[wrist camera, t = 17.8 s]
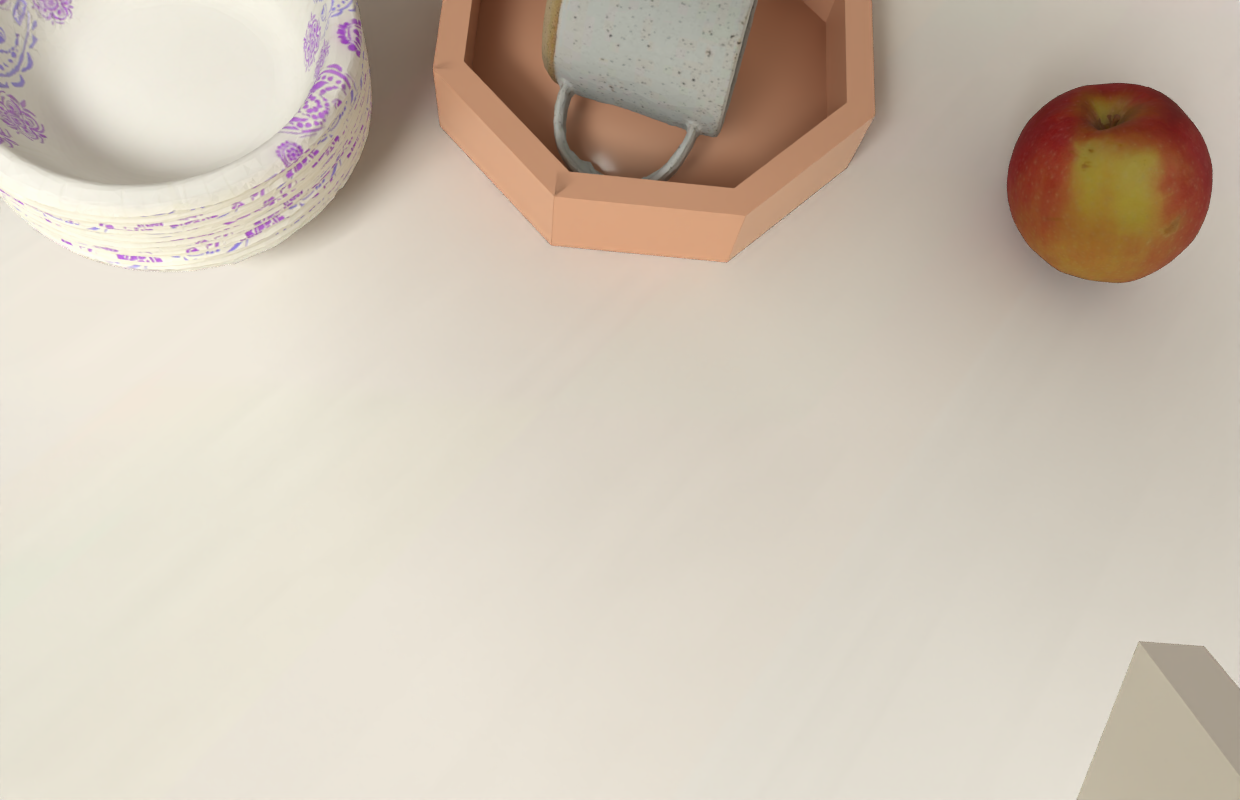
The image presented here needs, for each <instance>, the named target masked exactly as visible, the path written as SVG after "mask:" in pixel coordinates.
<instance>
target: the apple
mask: <svg viewBox="0 0 1240 800" xmlns="http://www.w3.org/2000/svg"><path fill="white" fill-rule="evenodd" d="M1211 192H1212V164H1211V159H1210V156H1209V152H1208V149H1207V146H1206V144H1205V141H1204V139H1203V137H1202V136H1201V134H1200V132H1199V131H1198V129H1197V128H1196V126H1195V125H1194V123H1193V122H1192V121H1191V120H1190V119H1189V117H1188V116H1187V115H1186V114H1185V113H1184V111H1183V110H1182V109H1181V108H1180V107H1179V106H1178V105H1177V104H1176V103H1175V102H1174V101H1172V100H1171V99H1170V98H1168V97H1167V96H1166V95H1164V94H1163V93H1161V92H1159V91H1157V90H1154V89H1152V88H1150V87H1145V86H1141V85H1136V84H1127V83H1110V84H1099V85H1087V86H1081V87H1078V88H1075V89H1073V90H1070V91H1068V92H1066V93H1063V94H1061V95H1059V96H1058V97H1056V98H1054V99H1053V100H1051V101H1050V102H1048V103H1047V104H1046V105H1045V106H1043V107H1042V108H1041V109H1040V110H1039V111H1038V112H1037V113H1036V114H1035V115H1034V116H1033V117H1032V118H1031V119H1030V120H1029V121H1028V123H1027V124H1026V126H1025V127H1024V129H1023V130H1022V132H1021V134H1020V136H1019V138H1018V140H1017V142H1016V145H1015V147H1014V150H1013V153H1012V157H1011V160H1010V164H1009V169H1008V177H1007V194H1008V202H1009V206H1010V211H1011V214H1012V217H1013V220H1014V222H1015V224H1016V226H1017V228H1018V230H1019V232H1020V233H1021V235H1022V236H1023V238H1024V239H1025V241H1026V242H1027V244H1028V245H1029V246H1030V247H1031V248H1032V249H1033V250H1034V251H1035V252H1036V253H1037V254H1038V255H1039V256H1040V257H1041V258H1043V259H1044V260H1045V261H1046V262H1047V263H1049V264H1050V265H1051V266H1053V267H1054V268H1056V269H1057V270H1059V271H1061V272H1063V273H1066V274H1069V275H1073V276H1076V277H1079V278H1083V279H1087V280H1093V281H1100V282H1112V283H1123V282H1130V281H1133V280H1137V279H1140V278H1143V277H1145V276H1147V275H1149V274H1151V273H1153V272H1155V271H1157V270H1159V269H1161V268H1162V267H1164V266H1165V265H1167V264H1168V263H1170V262H1171V261H1172V260H1173V259H1175V258H1176V257H1177V256H1178V255H1179V254H1180V253H1181V252H1182V251H1183V250H1184V249H1185V248H1187V247H1188V245H1189V244H1190V243H1191V242H1192V241H1193V240H1194V238H1195V237H1196V235H1197V234H1198V232H1199V230H1200V228H1201V226H1202V224H1203V222H1204V219H1205V217H1206V214H1207V211H1208V208H1209V203H1210V198H1211Z"/></svg>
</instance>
